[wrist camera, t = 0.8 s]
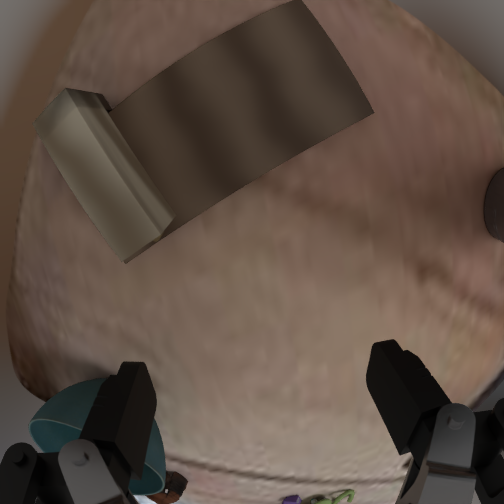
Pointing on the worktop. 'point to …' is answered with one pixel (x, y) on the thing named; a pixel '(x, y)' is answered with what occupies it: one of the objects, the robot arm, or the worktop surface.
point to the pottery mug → (170, 489)
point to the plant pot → (71, 424)
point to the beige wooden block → (103, 171)
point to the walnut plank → (239, 109)
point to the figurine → (294, 501)
